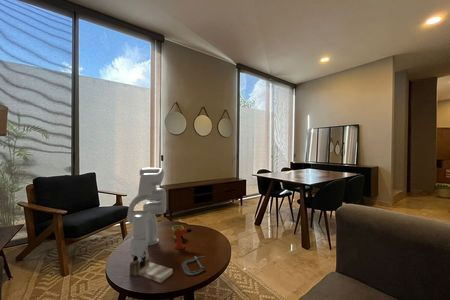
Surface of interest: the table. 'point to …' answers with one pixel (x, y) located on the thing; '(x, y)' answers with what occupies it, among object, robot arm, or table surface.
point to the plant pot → (176, 228)
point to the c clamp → (195, 259)
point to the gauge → (137, 266)
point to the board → (155, 272)
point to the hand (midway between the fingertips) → (139, 265)
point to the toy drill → (181, 237)
